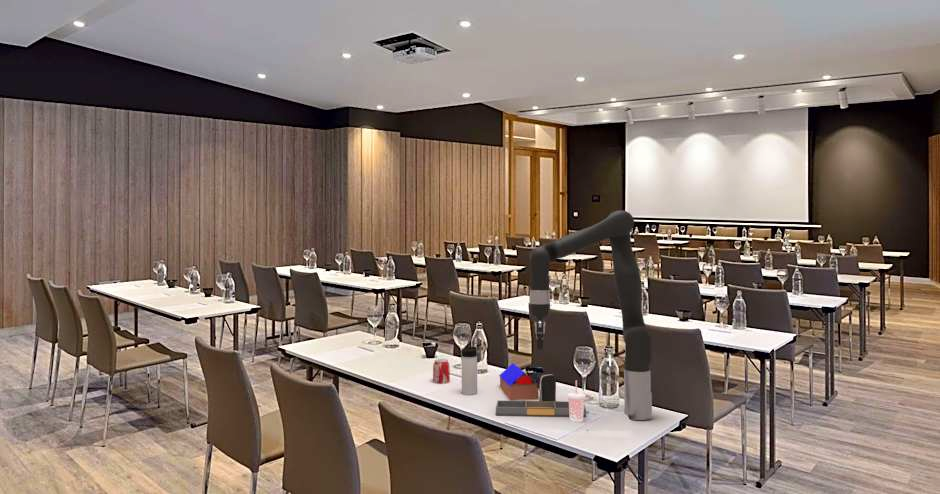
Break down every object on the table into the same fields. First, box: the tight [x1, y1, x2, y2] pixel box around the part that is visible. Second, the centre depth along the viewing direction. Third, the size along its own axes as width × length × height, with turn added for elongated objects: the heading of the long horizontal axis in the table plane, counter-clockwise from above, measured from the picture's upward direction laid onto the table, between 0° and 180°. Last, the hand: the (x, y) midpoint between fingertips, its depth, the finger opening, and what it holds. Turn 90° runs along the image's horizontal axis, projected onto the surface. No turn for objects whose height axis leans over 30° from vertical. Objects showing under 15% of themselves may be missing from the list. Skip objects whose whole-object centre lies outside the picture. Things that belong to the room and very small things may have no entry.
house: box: [498, 362, 539, 401], centre depth 264 cm, size 12×20×12 cm, turn 9°
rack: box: [495, 400, 587, 418], centre depth 238 cm, size 32×10×3 cm, turn 85°
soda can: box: [432, 358, 451, 385], centre depth 278 cm, size 7×7×12 cm
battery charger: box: [536, 373, 557, 401], centre depth 251 cm, size 7×4×11 cm, turn 122°
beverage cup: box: [566, 379, 586, 423], centre depth 228 cm, size 6×6×14 cm
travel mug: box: [460, 346, 478, 396], centre depth 262 cm, size 6×7×20 cm
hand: (540, 347), depth 238 cm, fingers open, 6 cm apart
